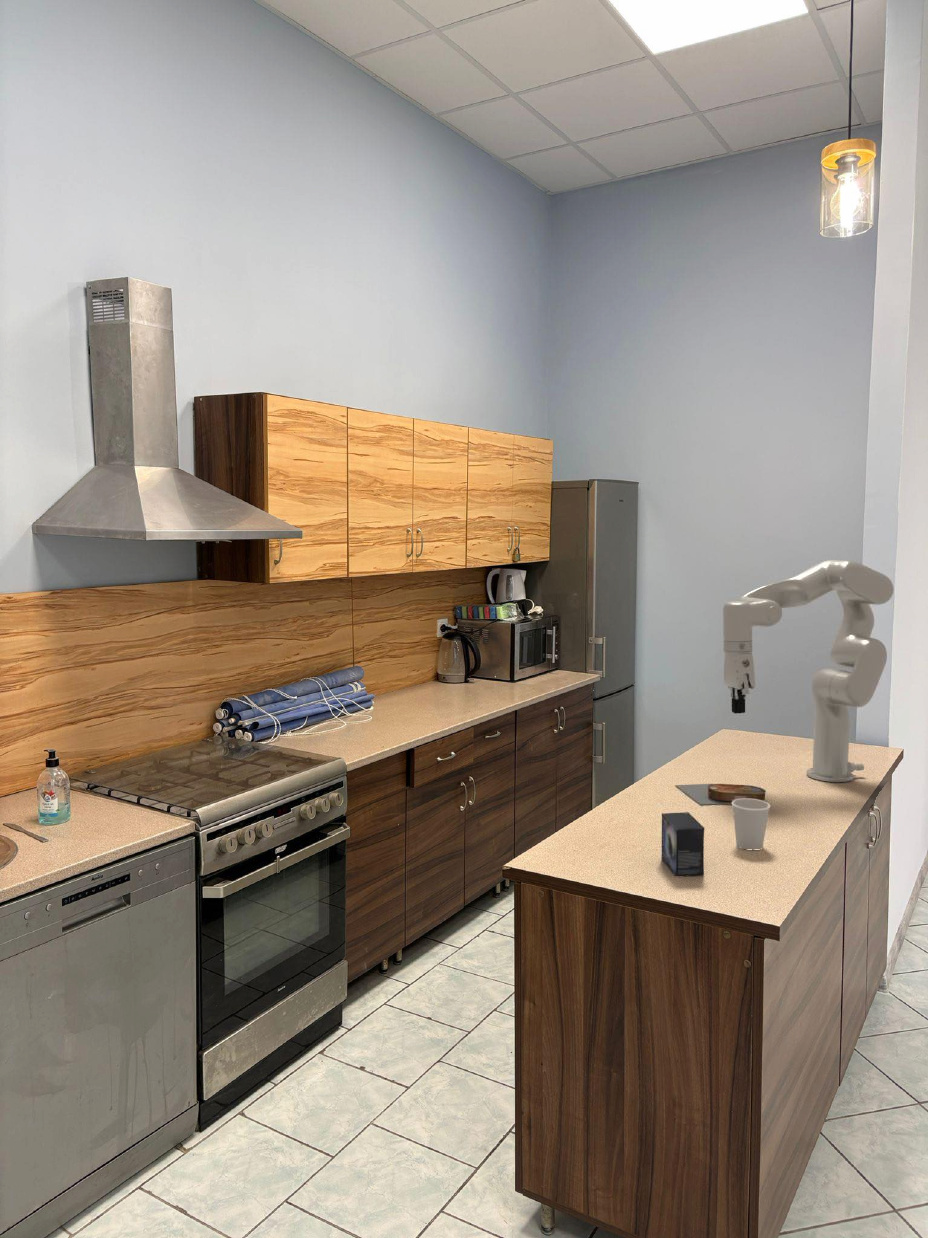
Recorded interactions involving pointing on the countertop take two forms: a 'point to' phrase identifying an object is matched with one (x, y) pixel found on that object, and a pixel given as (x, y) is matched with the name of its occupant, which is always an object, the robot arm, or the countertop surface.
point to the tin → (735, 792)
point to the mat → (700, 794)
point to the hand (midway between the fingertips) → (738, 712)
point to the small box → (683, 844)
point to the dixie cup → (750, 822)
